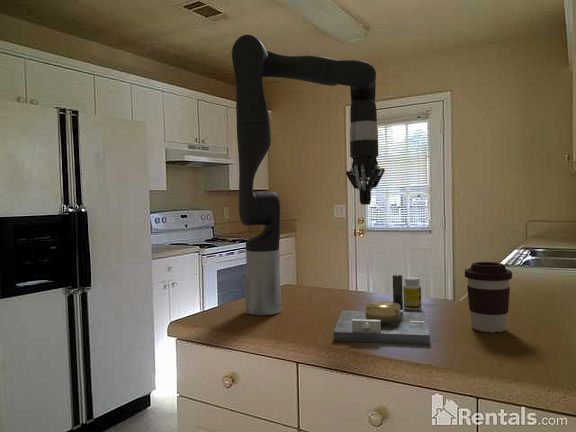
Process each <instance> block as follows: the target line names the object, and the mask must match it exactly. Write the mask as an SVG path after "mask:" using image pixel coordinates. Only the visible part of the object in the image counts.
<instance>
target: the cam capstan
mask: <svg viewBox="0 0 576 432" xmlns="http://www.w3.org/2000/svg"><path fill="white" fill-rule="evenodd" d="M403 286H404V285H403V275H402V274H394V275H392V302H391V301H381V300H379V301H371V302H368V303H366V304H365V308H364V309H365V310H364V311H366V319H367V320H381V323H389V322H396V321H399V320H400V319H401V314H400V312H401V311H402V310H404V295H403Z"/></svg>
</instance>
